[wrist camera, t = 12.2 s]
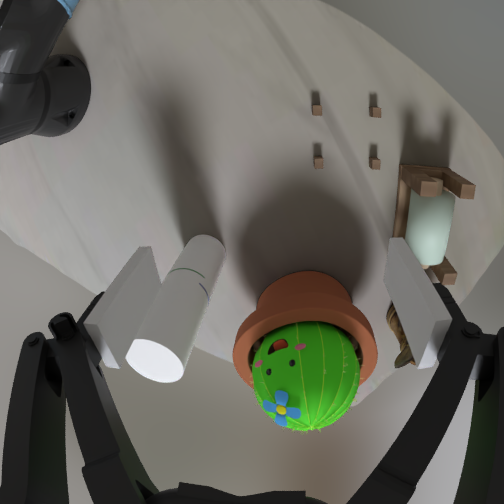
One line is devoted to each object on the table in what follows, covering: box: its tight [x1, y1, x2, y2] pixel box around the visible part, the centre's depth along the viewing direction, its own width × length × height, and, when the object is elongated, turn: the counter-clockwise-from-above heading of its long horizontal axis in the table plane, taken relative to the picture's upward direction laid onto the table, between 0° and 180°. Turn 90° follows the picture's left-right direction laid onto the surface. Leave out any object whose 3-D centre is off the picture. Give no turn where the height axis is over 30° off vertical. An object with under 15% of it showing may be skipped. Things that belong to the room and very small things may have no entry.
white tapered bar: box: [125, 235, 226, 383], centre depth 43 cm, size 7×7×25 cm
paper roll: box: [405, 177, 455, 269], centre depth 41 cm, size 14×7×7 cm, turn 4°
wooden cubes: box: [312, 105, 381, 170], centre depth 41 cm, size 9×10×2 cm
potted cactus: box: [233, 271, 378, 431], centre depth 46 cm, size 22×22×25 cm
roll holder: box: [393, 164, 476, 285], centre depth 41 cm, size 16×9×9 cm, turn 4°
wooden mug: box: [386, 305, 416, 368], centre depth 46 cm, size 9×14×18 cm, turn 51°
